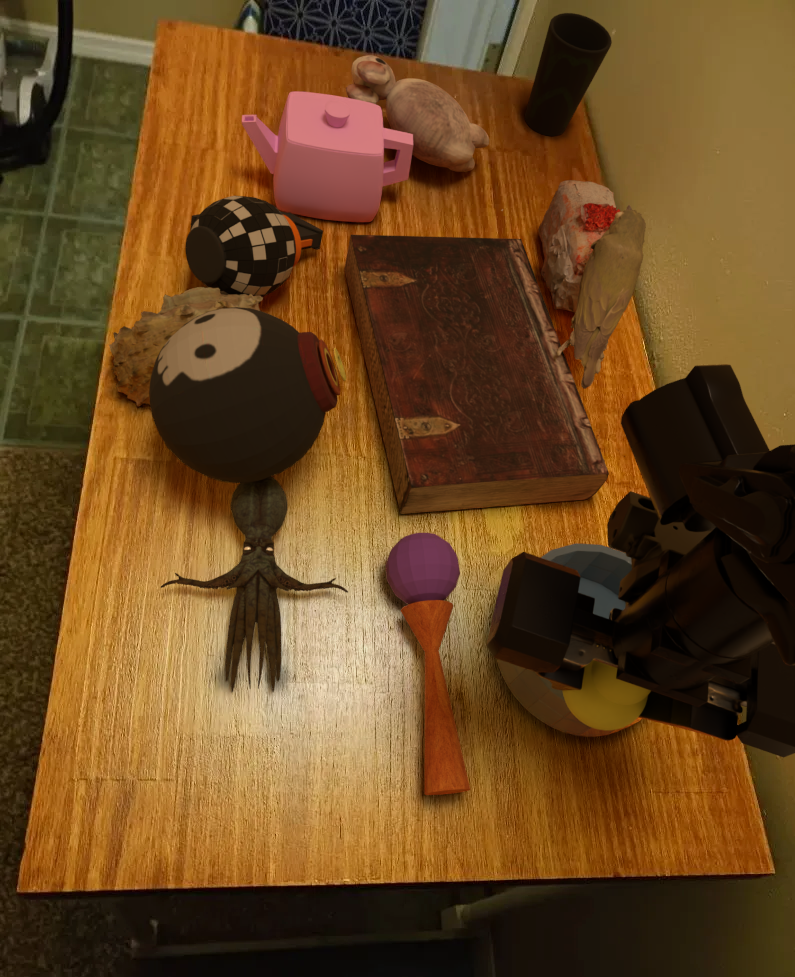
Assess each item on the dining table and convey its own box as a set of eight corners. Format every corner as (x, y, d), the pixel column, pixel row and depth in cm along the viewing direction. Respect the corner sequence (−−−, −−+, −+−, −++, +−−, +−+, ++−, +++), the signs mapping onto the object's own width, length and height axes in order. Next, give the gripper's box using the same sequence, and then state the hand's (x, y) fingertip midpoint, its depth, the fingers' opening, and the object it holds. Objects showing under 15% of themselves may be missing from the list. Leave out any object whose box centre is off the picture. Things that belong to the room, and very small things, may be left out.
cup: (514, 131, 103) (547, 39, 93) (519, 96, 107) (551, 5, 97) (572, 148, 104) (611, 59, 94) (574, 113, 108) (612, 24, 98)
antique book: (591, 498, 76) (614, 471, 72) (399, 515, 71) (411, 487, 67) (510, 270, 90) (524, 236, 86) (343, 271, 85) (350, 234, 81)
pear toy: (621, 750, 54) (687, 714, 46) (543, 724, 53) (597, 683, 46) (630, 675, 56) (693, 629, 49) (556, 649, 56) (609, 600, 49)
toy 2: (375, 101, 102) (301, 80, 90) (407, 45, 98) (334, 14, 86) (530, 243, 96) (473, 240, 83) (571, 188, 92) (517, 177, 80)
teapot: (236, 211, 86) (239, 126, 77) (242, 146, 91) (246, 60, 83) (403, 233, 89) (424, 154, 81) (399, 169, 95) (418, 89, 86)
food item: (613, 328, 89) (655, 261, 80) (544, 322, 87) (580, 254, 79) (588, 238, 95) (624, 168, 87) (523, 231, 94) (554, 159, 85)
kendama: (407, 792, 56) (382, 524, 64) (405, 799, 61) (382, 551, 70) (493, 784, 56) (457, 518, 65) (483, 791, 62) (451, 545, 70)
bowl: (648, 761, 65) (682, 744, 60) (477, 703, 64) (498, 682, 60) (663, 602, 72) (694, 577, 68) (511, 549, 72) (532, 520, 67)
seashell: (287, 361, 78) (295, 277, 71) (180, 447, 70) (176, 362, 62) (199, 306, 81) (198, 219, 73) (86, 382, 72) (70, 293, 65)
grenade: (159, 176, 73) (277, 167, 84) (151, 274, 79) (263, 254, 90) (245, 225, 69) (359, 209, 80) (231, 326, 74) (339, 298, 85)
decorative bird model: (642, 220, 83) (670, 198, 78) (587, 398, 79) (613, 387, 74) (599, 198, 82) (625, 175, 77) (541, 378, 78) (565, 365, 73)
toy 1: (120, 303, 63) (302, 242, 62) (198, 419, 73) (356, 369, 72) (107, 425, 54) (319, 357, 53) (198, 537, 65) (377, 483, 63)
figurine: (148, 687, 56) (168, 452, 63) (153, 701, 61) (172, 481, 68) (355, 688, 59) (352, 462, 66) (343, 700, 64) (342, 490, 71)
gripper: (882, 532, 46) (731, 632, 59) (568, 421, 45) (486, 547, 58) (895, 722, 39) (723, 786, 53) (533, 596, 39) (451, 693, 52)
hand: (594, 695), depth 54 cm, fingers closed on pear toy, 5 cm apart
